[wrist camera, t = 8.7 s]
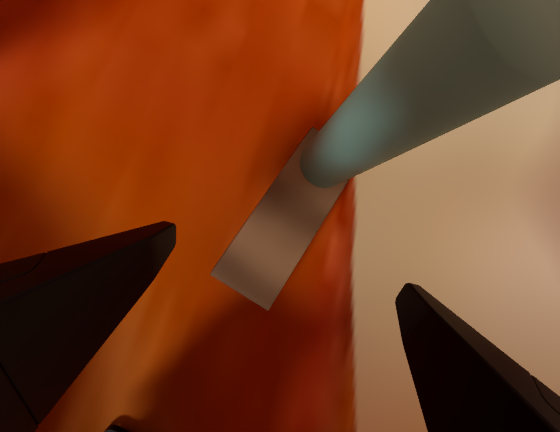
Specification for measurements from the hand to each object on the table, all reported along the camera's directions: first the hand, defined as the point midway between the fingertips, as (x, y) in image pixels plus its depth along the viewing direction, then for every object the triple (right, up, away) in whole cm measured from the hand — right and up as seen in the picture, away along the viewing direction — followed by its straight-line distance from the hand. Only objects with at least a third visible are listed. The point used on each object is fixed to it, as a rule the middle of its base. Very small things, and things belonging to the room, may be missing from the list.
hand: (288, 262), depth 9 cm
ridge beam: (0, +2, +12) cm, 12 cm away
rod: (+3, +6, +10) cm, 12 cm away
